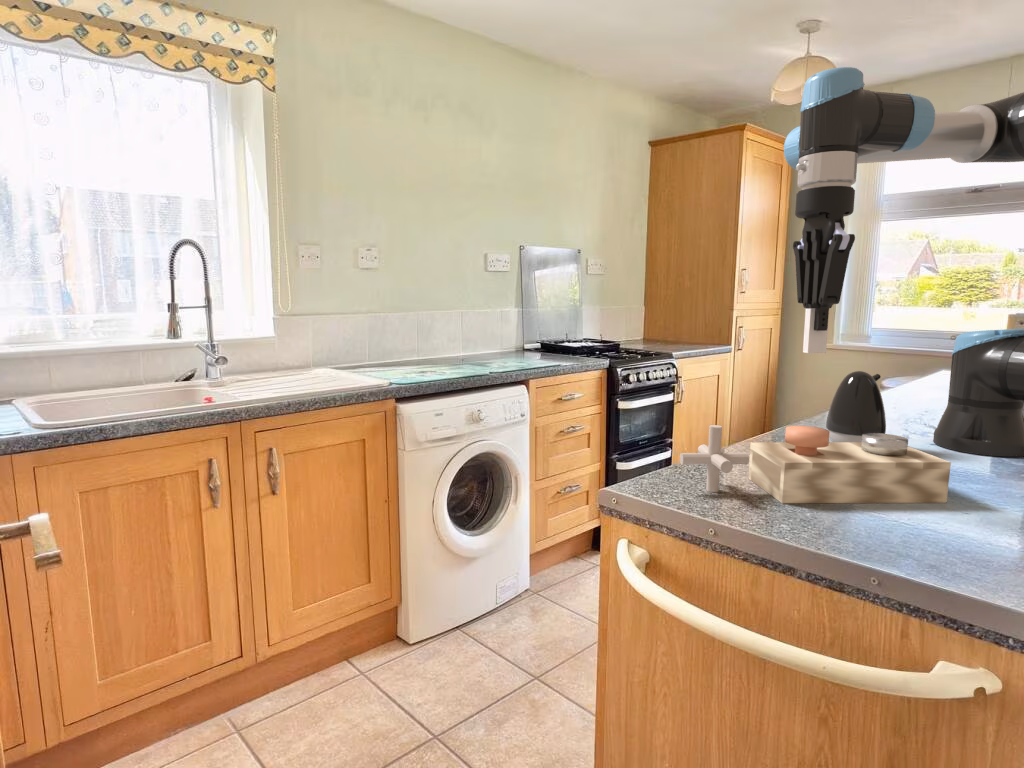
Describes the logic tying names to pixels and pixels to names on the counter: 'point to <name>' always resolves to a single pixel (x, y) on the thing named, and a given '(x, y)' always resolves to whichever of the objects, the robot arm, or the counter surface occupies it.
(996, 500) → the counter surface
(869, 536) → the counter surface
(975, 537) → the counter surface
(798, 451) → the terracotta plunger
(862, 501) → the panel housing
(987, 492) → the counter surface
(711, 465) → the pipe connector
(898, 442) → the grey shiny disc
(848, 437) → the pump dispenser
